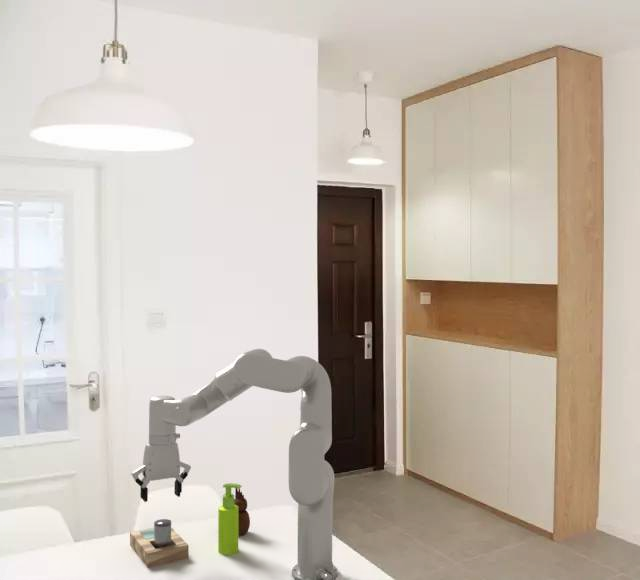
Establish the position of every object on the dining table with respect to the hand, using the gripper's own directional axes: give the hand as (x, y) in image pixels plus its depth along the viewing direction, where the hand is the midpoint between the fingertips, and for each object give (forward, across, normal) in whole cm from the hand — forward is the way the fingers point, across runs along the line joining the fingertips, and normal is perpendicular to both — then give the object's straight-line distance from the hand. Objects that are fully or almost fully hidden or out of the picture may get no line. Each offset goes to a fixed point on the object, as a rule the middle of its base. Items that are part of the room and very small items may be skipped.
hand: (161, 497), depth 200 cm
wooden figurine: (+17, -27, -4) cm, 32 cm away
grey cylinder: (+17, -1, +1) cm, 17 cm away
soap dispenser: (+17, -19, +7) cm, 26 cm away
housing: (+17, -1, -3) cm, 18 cm away
